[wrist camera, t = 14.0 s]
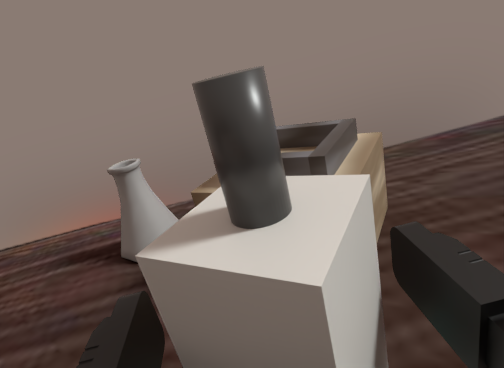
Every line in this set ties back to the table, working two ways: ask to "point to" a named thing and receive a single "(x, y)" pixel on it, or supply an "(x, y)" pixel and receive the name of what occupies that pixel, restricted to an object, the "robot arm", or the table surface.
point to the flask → (138, 209)
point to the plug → (268, 252)
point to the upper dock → (327, 158)
